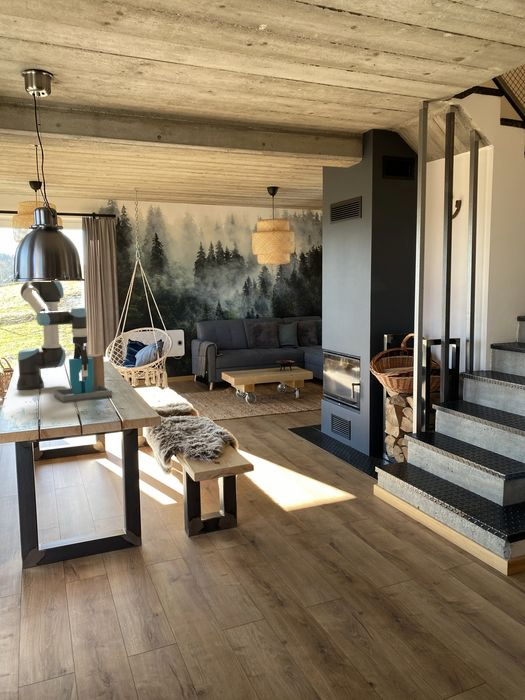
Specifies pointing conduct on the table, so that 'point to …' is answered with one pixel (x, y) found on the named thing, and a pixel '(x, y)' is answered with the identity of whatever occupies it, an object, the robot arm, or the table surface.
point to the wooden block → (97, 369)
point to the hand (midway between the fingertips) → (81, 374)
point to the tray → (69, 396)
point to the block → (77, 385)
